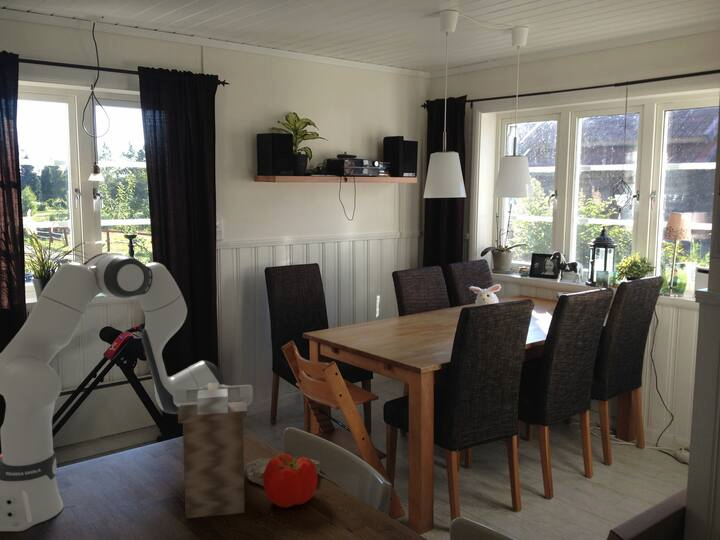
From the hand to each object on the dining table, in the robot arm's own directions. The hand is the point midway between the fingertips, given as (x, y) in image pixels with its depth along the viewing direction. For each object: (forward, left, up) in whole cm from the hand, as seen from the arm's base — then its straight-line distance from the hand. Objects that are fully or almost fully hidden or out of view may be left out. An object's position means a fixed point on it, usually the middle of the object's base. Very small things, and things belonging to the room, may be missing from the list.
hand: (213, 389), depth 166 cm
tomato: (+19, -7, -29) cm, 35 cm away
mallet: (0, -3, -2) cm, 4 cm away
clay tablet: (+18, +8, -29) cm, 35 cm away
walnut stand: (0, -7, -28) cm, 29 cm away
